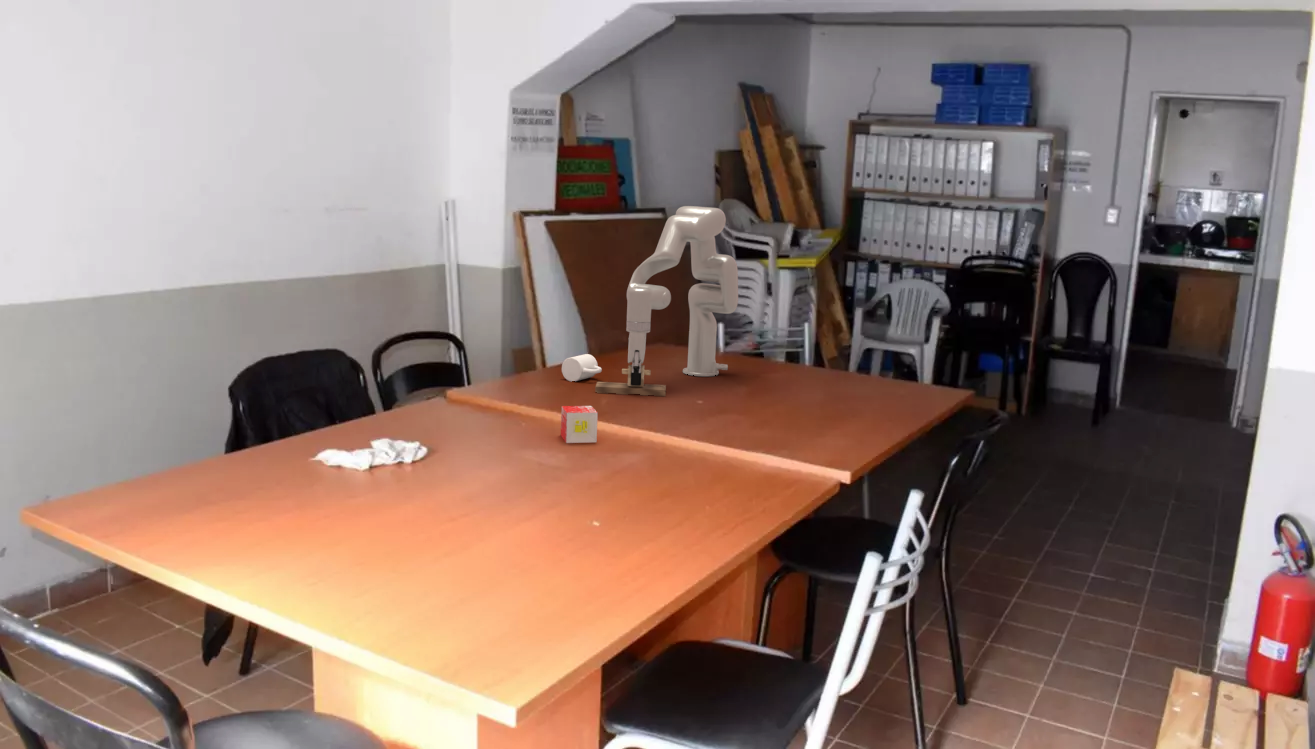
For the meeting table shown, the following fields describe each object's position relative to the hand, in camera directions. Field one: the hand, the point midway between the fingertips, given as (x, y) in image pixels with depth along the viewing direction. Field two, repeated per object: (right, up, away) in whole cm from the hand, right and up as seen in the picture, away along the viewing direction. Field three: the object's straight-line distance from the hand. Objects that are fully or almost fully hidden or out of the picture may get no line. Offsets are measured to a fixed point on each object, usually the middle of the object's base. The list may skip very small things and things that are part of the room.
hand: (635, 383), depth 342 cm
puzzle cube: (-14, -14, -61) cm, 64 cm away
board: (-2, -3, +1) cm, 3 cm away
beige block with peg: (0, -1, 0) cm, 1 cm away
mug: (-17, +1, +16) cm, 24 cm away
